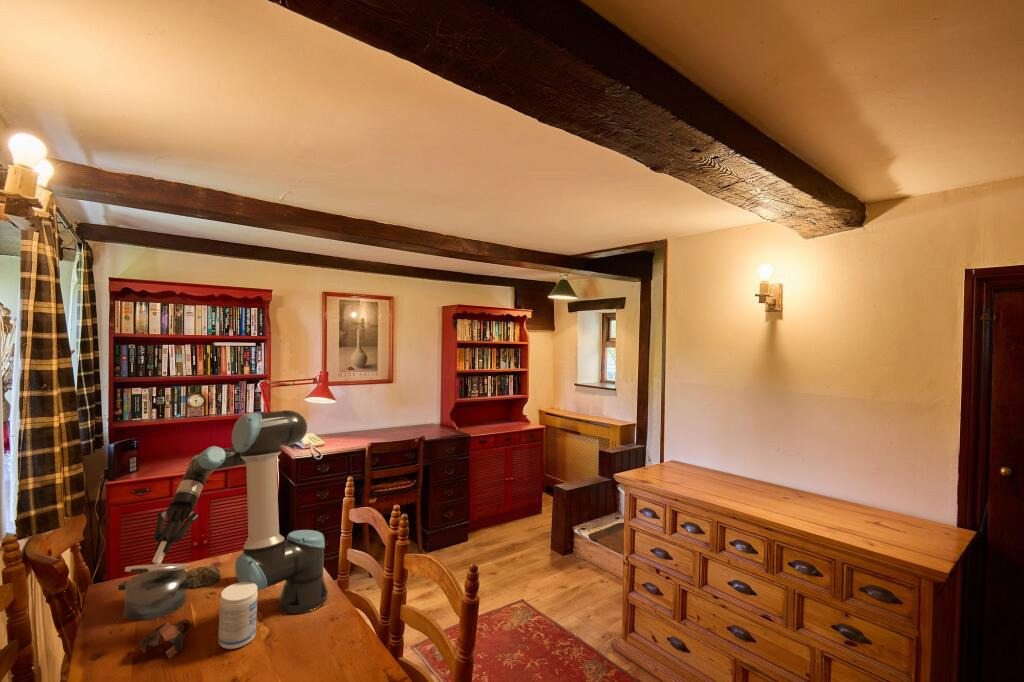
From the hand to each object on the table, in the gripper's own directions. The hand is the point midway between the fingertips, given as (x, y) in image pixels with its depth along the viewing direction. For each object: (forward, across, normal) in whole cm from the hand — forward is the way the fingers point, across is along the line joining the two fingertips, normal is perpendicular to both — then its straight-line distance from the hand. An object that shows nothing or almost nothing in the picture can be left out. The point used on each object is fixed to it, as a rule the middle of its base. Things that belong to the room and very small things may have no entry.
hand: (156, 562), depth 157 cm
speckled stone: (-2, -6, -22) cm, 23 cm away
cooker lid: (+3, -1, +1) cm, 3 cm away
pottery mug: (+27, -17, +8) cm, 33 cm away
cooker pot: (+11, -1, -9) cm, 14 cm away
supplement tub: (+24, -35, +6) cm, 43 cm away
